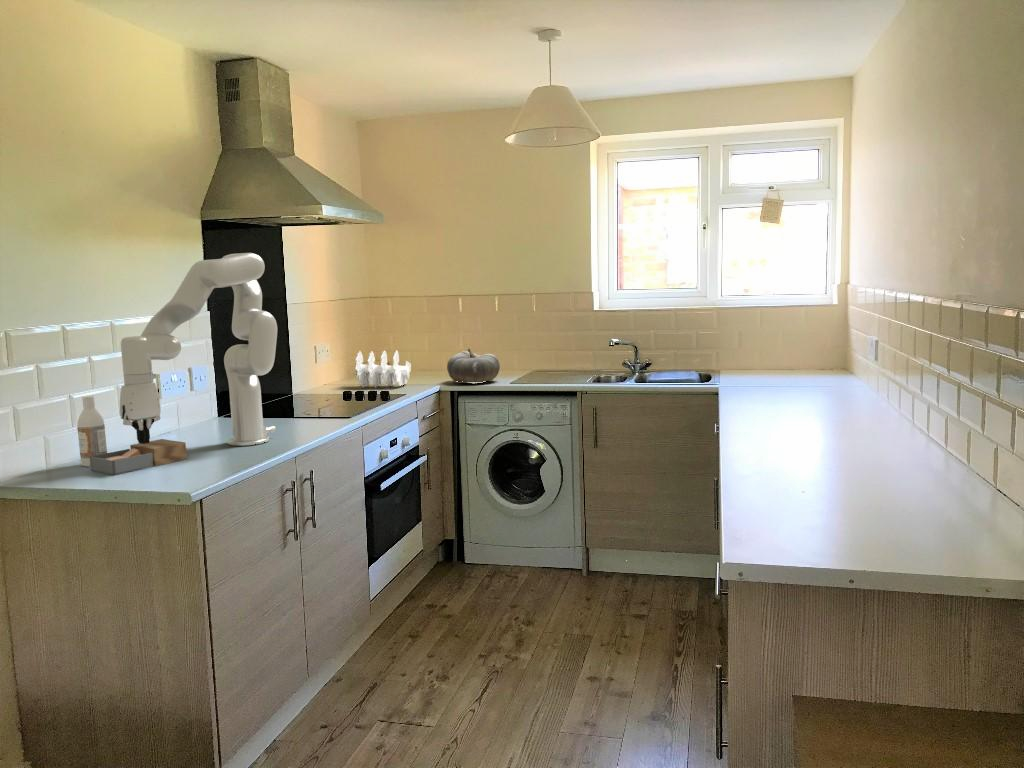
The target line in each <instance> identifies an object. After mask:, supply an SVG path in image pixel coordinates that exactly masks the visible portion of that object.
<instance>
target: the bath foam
mask: <svg viewBox="0 0 1024 768" xmlns="http://www.w3.org/2000/svg"><path fill="white" fill-rule="evenodd" d="M82 407H83V410H82V411H81V413H80V415H79V417H78V419H77V425H76V426H77V428H76V429H77V436H78V437H77V438H78V446H79V447H78V449H79V455H80V457H79V458H80V462H81V463H80V464H81V466H82V467H85V468H86V467H90V468H91V465H90V456H95V455H100V454H105V453H108V447H107V437H106V436H107V435H106V424H105V421H104V419H103V416H102V415H101V413H100V412H99V411H98V410H97V409H96V406H95V398H94V395H84V396H82Z"/></svg>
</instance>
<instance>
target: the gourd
mask: <svg viewBox="0 0 1024 768" xmlns="http://www.w3.org/2000/svg"><path fill="white" fill-rule="evenodd" d="M446 365H447V366H446V367H447V368H446V369H447V374H448V376H449V377H450V378H451V380H452V381H454V382H455V381H458V382H462V381H463V382H483V381H489V382H491V381H493V380H494V379H496V378H497V377H498V374H499V372H500V370H501V369H500V367H501V365H500V361H499V359H498V356H497V355H495V354H492V353H485V354H483V355H480V354H477V353H474V352H473V351H471V349H470V348H467V351H466V350H463V351H461V352H459V353H456V354H453V355H452V356H451V357H450V358H449V359H448V361H447V364H446ZM490 380H491V381H490Z"/></svg>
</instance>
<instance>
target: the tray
mask: <svg viewBox="0 0 1024 768" xmlns="http://www.w3.org/2000/svg"><path fill="white" fill-rule="evenodd" d="M129 450H131V448H126V449H122V450H116V451H112V452H111V451H110V452H107V453H105V454H100V455H95V456H90V465H91V467H90V471H92V472H96V473H102V474H105V475H111V476H118V475H122V474H126V473H131V472H136V471H141V470H144V469H149V468H154V467H155V466H154V465H153V454H152V453H147V454H142V455H138V456H133V457H128V458H123V459H118V460H108V459H105V458H110V457H115V456H122V455H123V454H125V453H126V452H128V451H129Z"/></svg>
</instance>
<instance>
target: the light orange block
mask: <svg viewBox="0 0 1024 768" xmlns="http://www.w3.org/2000/svg"><path fill="white" fill-rule="evenodd" d="M123 458H126V457H122V456H115V457H110V458H105V459H108V460H118V459H123Z"/></svg>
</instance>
